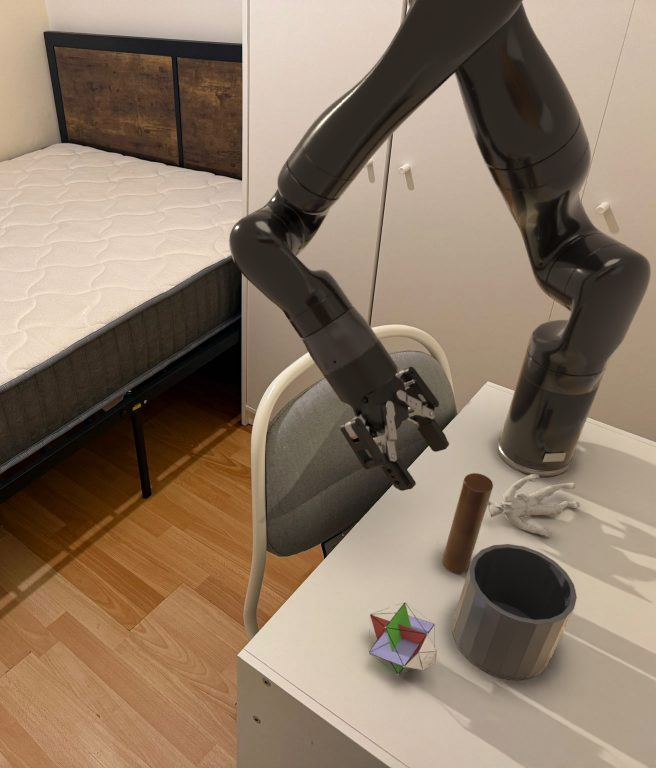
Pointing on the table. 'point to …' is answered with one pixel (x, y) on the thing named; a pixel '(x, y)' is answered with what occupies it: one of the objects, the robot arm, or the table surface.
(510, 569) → the tin
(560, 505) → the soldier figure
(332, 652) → the table surface
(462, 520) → the cylinder
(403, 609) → the geometric puzzle
